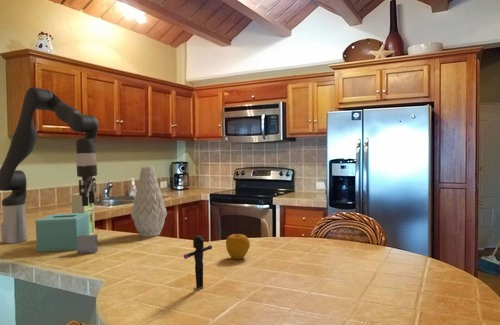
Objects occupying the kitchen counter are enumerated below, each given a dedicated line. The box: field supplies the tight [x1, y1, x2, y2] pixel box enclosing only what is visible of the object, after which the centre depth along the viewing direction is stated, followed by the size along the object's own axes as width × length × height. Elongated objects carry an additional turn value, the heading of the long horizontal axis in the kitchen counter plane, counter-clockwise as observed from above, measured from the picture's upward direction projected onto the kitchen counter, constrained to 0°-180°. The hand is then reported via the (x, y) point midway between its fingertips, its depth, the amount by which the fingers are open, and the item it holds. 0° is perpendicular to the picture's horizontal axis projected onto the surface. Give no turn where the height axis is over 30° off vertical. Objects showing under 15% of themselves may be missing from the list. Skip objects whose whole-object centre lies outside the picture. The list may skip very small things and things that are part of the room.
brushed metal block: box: [76, 233, 99, 255], centre depth 152 cm, size 7×3×7 cm, turn 96°
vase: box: [130, 166, 168, 238], centre depth 181 cm, size 17×17×33 cm
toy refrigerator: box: [71, 192, 96, 235], centre depth 184 cm, size 8×7×21 cm
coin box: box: [35, 212, 89, 253], centre depth 164 cm, size 16×16×13 cm
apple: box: [225, 233, 251, 260], centre depth 137 cm, size 8×8×9 cm
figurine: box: [183, 235, 213, 291], centre depth 107 cm, size 12×4×15 cm, turn 149°
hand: (88, 204), depth 153 cm, fingers open, 8 cm apart
